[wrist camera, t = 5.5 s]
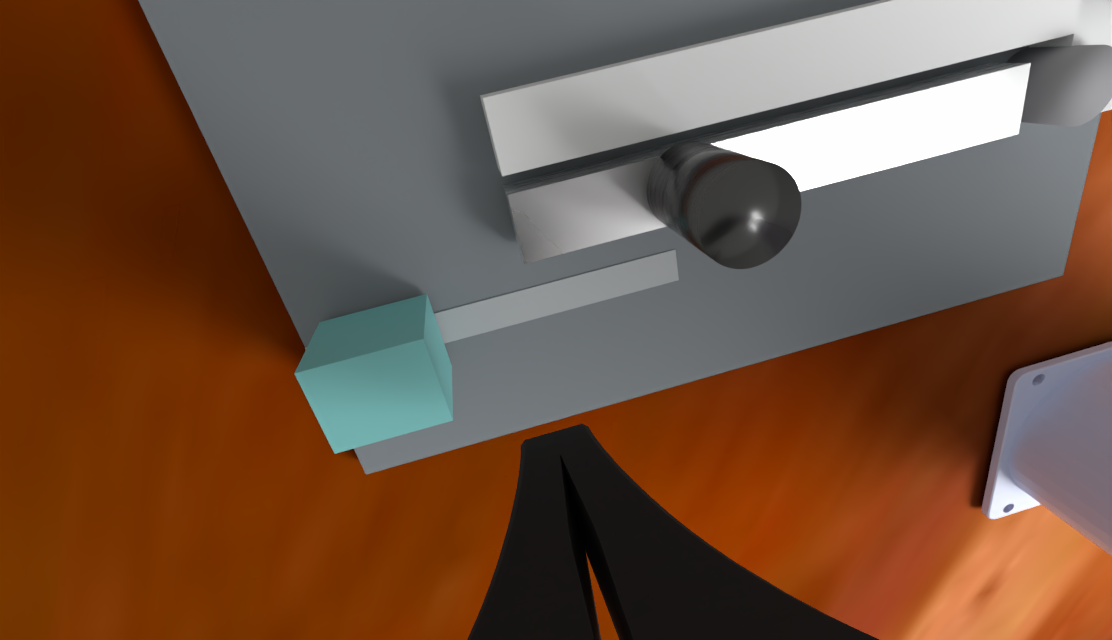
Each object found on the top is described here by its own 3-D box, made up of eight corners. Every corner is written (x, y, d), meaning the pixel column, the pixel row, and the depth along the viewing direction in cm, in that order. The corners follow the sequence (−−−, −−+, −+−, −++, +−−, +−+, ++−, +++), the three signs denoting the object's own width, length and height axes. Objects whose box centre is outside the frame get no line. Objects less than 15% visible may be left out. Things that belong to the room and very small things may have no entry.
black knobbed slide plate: (990, 55, 15) (1181, 52, 11) (979, 136, 16) (1151, 158, 12) (501, 177, 14) (522, 220, 10) (520, 256, 15) (547, 323, 11)
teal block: (427, 293, 15) (423, 338, 13) (452, 366, 16) (452, 420, 14) (319, 321, 15) (294, 373, 12) (352, 393, 16) (335, 453, 14)
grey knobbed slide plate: (1170, -297, 13) (1310, -368, 11) (1046, 269, 20) (1118, 294, 18) (111, -83, 11) (33, -117, 9) (368, 462, 18) (358, 515, 16)
